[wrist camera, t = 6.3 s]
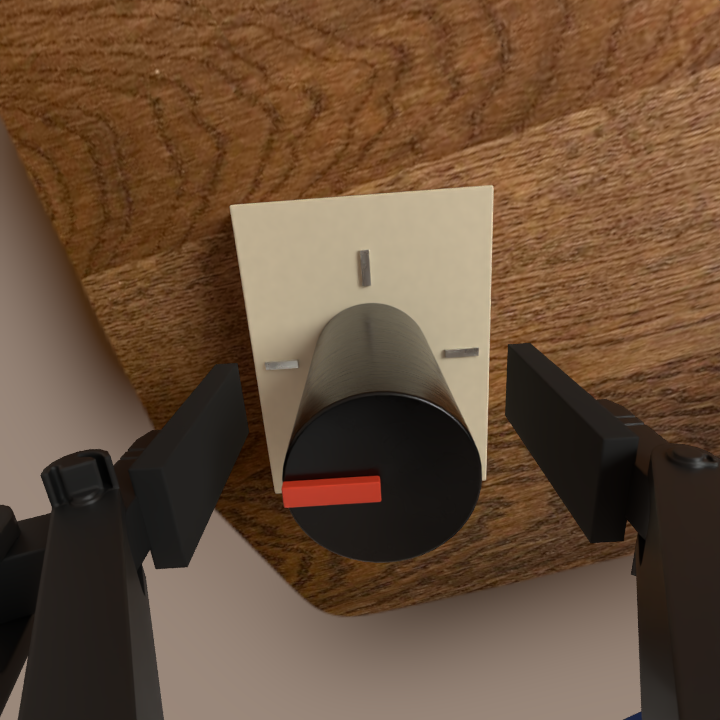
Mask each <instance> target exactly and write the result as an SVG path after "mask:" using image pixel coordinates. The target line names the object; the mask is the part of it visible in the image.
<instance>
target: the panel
mask: <svg viewBox="0 0 720 720" xmlns="http://www.w3.org/2000/svg"><path fill="white" fill-rule="evenodd" d="M230 213H231V219H232V226H233V232H234V238H235V245H236V251H237V257H238V263H239V270H240V276H241V282H242V289H243V295H244V301H245V308H246V314H247V320H248V326H249V333H250V339H251V345H252V352H253V358H254V364H255V371H256V377H257V383H258V389H259V396H260V402H261V408H262V415H263V421H264V427H265V434H266V440H267V446H268V452H269V459H270V465H271V471H272V478H273V484H274V490H275V493H282V490H281V488H282V472H283V464H284V460H285V456H286V452H287V448H288V445H289V441H290V437H291V434H292V430H293V427H294V423H295V419H296V416H297V412H298V408H299V405H300V401H301V398H302V394H303V390H304V387H305V383H306V379H307V376H308V372H309V369H310V365H311V361H312V358H313V354H314V350H315V347H316V343H317V340H318V338H319V335H320V333H321V332H322V330H323V328H324V327H325V326H326V324H327V323H328V322H329V321H330V320H331V319H332V318H333V317H334V316H336V315H337V314H338V313H340V312H341V311H343V310H345V309H347V308H349V307H352V306H355V305H359V304H365V303H380V304H386V305H389V306H392V307H395V308H397V309H399V310H401V311H403V312H405V313H406V314H407V315H409V316H410V317H411V318H412V319H413V320H414V321H415V322H416V323H417V324H418V326H419V327H420V328H421V330H422V332H423V334H424V336H425V338H426V340H427V342H428V344H429V346H430V348H431V351H432V353H433V355H434V357H435V359H436V361H437V363H438V365H439V368H440V370H441V372H442V374H443V376H444V378H445V380H446V382H447V384H448V387H449V389H450V391H451V393H452V395H453V397H454V399H455V401H456V403H457V406H458V408H459V410H460V412H461V414H462V416H463V418H464V420H465V422H466V425H467V427H468V429H469V431H470V433H471V435H472V437H473V439H474V441H475V444H476V446H477V449H478V452H479V455H480V459H481V464H482V480H486V467H487V427H488V387H489V347H490V307H491V267H492V227H493V186H492V185H489V186H474V187H461V188H448V189H434V190H421V191H408V192H395V193H382V194H368V195H355V196H342V197H329V198H316V199H302V200H289V201H276V202H263V203H250V204H238V205H231V206H230Z"/></svg>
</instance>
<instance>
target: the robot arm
mask: <svg viewBox="0 0 720 720" xmlns="http://www.w3.org/2000/svg"><path fill="white" fill-rule="evenodd" d="M505 416H506V417H507V419H508V420H509V422H510V423H511V425H512V426H513V428H514V429H515V431H516V432H517V434H518V435H519V437H520V438H521V440H522V441H523V443H524V444H525V446H526V447H527V449H528V450H529V452H530V453H531V455H532V456H533V458H534V459H535V461H536V462H537V464H538V465H539V467H540V468H541V470H542V471H543V473H544V474H545V476H546V477H547V479H548V480H549V482H550V483H551V485H552V486H553V488H554V489H555V491H556V492H557V494H558V495H559V497H560V498H561V500H562V501H563V503H564V504H565V506H566V507H567V509H568V510H569V512H570V513H571V515H572V516H573V518H574V519H575V521H576V522H577V524H578V525H579V527H580V528H581V530H582V531H583V532H584V534H585V535H586V537H587V538H588V540H589V541H590V543H600V542H617V541H624V535H625V528H626V522H627V520H628V521H629V522H630V523H631V525H632V526H633V527H634V528H635V530H636V531H637V532H638V535H637V541H636V547H635V553H634V559H633V565H632V571H631V575H634V576H636V577H637V578H636V579H637V605H638V628H639V629H638V630H639V631H638V632H639V659H640V684H641V708H642V709H641V712H642V720H720V458H718V457H716V456H715V455H713V454H712V453H710V452H708V451H705V450H703V449H700V448H697V447H693V446H689V445H684V444H673V443H668V442H667V441H666V440H665V439H663V438H662V437H661V436H660V435H658V434H657V433H656V432H655V431H653V430H652V429H651V428H650V427H648V426H647V425H644V423H643V422H642V421H641V420H640V419H638V418H637V417H635V415H633V414H632V413H631V412H630V411H628V410H627V409H626V408H625V407H623V406H621V405H619V404H616V403H614V402H612V401H609V400H607V399H601V400H596V399H594V398H593V397H592V396H591V395H590V394H589V393H587V392H586V391H585V390H584V389H583V388H582V387H581V386H579V385H578V384H577V383H576V382H575V381H574V380H572V379H571V378H570V377H569V376H568V375H567V374H565V373H564V372H563V371H562V370H561V369H560V368H558V367H557V366H556V365H555V364H554V363H553V362H552V361H550V360H549V359H548V358H547V357H546V356H545V355H543V354H542V353H541V352H540V351H539V350H538V349H536V348H535V347H534V346H533V345H532V344H531V343H523V344H508V359H507V383H506V408H505ZM248 433H249V429H248V423H247V417H246V411H245V405H244V400H243V394H242V388H241V382H240V376H239V370H238V364H237V363H230V364H216V365H215V366H214V367H213V368H212V370H211V371H210V372H209V373H208V374H207V376H206V377H205V378H204V379H203V380H202V382H201V383H200V384H199V385H198V386H197V388H196V389H195V390H194V391H193V392H192V394H191V395H190V396H189V397H188V398H187V400H186V401H185V402H184V403H183V404H182V406H181V407H180V408H179V409H178V410H177V412H176V413H175V414H174V415H173V416H172V418H171V419H170V420H169V421H168V422H167V424H166V425H165V426H164V427H163V428H162V430H152V431H150V432H148V433H147V434H145V435H144V436H142V437H140V438H139V439H137V440H136V441H135V442H134V443H133V445H132V446H131V447H130V448H129V449H128V452H125V454H124V455H123V456H122V457H121V458H120V460H119V461H117V462H116V464H115V465H114V466H113V464H112V460H111V456H110V455H109V453H108V451H104V450H101V449H90V450H84V451H79V452H76V453H73V454H70V455H67V456H64V457H62V458H60V459H58V460H56V461H54V462H52V463H51V464H50V465H49V466H47V467H46V468H45V469H44V470H43V472H42V473H41V478H42V481H43V484H44V486H45V489H46V492H47V494H48V498H49V500H50V503H51V506H52V511H51V513H49V514H46V515H41V516H37V517H34V518H29V519H25V520H21V521H17V520H16V518H15V515H14V513H13V511H12V509H11V508H10V507H9V506H5V505H0V716H1V714H2V712H3V709H4V707H5V705H6V703H7V701H8V698H9V696H10V694H11V692H12V690H13V687H14V685H15V683H16V681H17V679H18V676H19V674H20V672H21V670H22V668H23V665H24V663H25V661H26V659H27V657H28V660H27V666H26V672H25V679H24V685H23V692H22V698H21V704H20V710H19V716H18V720H164V717H163V710H162V702H161V694H160V686H159V678H158V670H157V662H156V654H155V646H154V639H153V630H152V623H151V615H150V608H149V599H148V592H147V584H146V576H145V573H144V570H143V566H142V563H143V561H144V559H145V557H146V556H147V554H148V552H149V551H151V554H152V558H153V562H154V565H155V568H156V569H165V568H181V567H188V565H189V562H190V560H191V558H192V556H193V554H194V552H195V549H196V547H197V545H198V543H199V540H200V538H201V536H202V534H203V532H204V530H205V527H206V525H207V523H208V521H209V519H210V516H211V514H212V512H213V510H214V508H215V506H216V503H217V501H218V499H219V497H220V495H221V492H222V490H223V488H224V486H225V484H226V481H227V479H228V477H229V475H230V473H231V470H232V468H233V466H234V464H235V462H236V460H237V457H238V455H239V453H240V451H241V449H242V446H243V444H244V442H245V440H246V438H247V435H248Z"/></svg>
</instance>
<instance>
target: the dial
mask: <svg viewBox="0 0 720 720" xmlns="http://www.w3.org/2000/svg"><path fill="white" fill-rule="evenodd" d="M481 484H482V464H481V459H480V455H479V452H478V449H477V446H476V444H475V441H474V439H473V437H472V435H471V433H470V431H469V429H468V427H467V425H466V422H465V420H464V418H463V416H462V414H461V412H460V410H459V408H458V406H457V403H456V401H455V399H454V397H453V395H452V393H451V391H450V389H449V387H448V384H447V382H446V380H445V378H444V376H443V374H442V372H441V370H440V368H439V365H438V363H437V361H436V359H435V357H434V355H433V353H432V351H431V348H430V346H429V344H428V342H427V340H426V338H425V336H424V334H423V332H422V330H421V328H420V327H419V326H418V324H417V323H416V322H415V321H414V320H413V319H412V318H411V317H410V316H409V315H407V314H406V313H405V312H403V311H401V310H399V309H397V308H395V307H392V306H389V305H386V304H380V303H365V304H359V305H355V306H352V307H349V308H347V309H345V310H343V311H341V312H340V313H338V314H337V315H336V316H334V317H333V318H332V319H331V320H330V321H329V322H328V323H327V324H326V326H325V327H324V328H323V330H322V332H321V333H320V335H319V338H318V340H317V343H316V347H315V350H314V354H313V358H312V361H311V365H310V369H309V372H308V376H307V379H306V383H305V387H304V390H303V394H302V398H301V401H300V405H299V408H298V412H297V416H296V419H295V423H294V427H293V430H292V434H291V437H290V441H289V445H288V448H287V452H286V456H285V460H284V464H283V472H282V488H281V490H282V497H283V503H284V507H285V508H289V510H290V512H291V514H292V516H293V517H294V519H295V521H296V522H297V523H298V525H299V526H300V527H301V529H302V530H303V531H304V532H305V533H306V534H307V535H308V536H309V537H310V538H311V539H313V540H314V541H315V542H317V543H318V544H319V545H321V546H323V547H324V548H326V549H328V550H329V551H331V552H334V553H336V554H338V555H340V556H344V557H347V558H350V559H354V560H359V561H364V562H374V563H385V562H396V561H402V560H407V559H411V558H414V557H417V556H420V555H423V554H425V553H427V552H430V551H432V550H434V549H436V548H437V547H439V546H441V545H442V544H444V543H445V542H446V541H448V540H449V539H450V538H452V537H453V536H454V535H455V534H456V533H457V532H458V531H459V530H460V529H461V528H462V527H463V525H464V524H465V523H466V522H467V520H468V519H469V517H470V515H471V514H472V512H473V510H474V508H475V506H476V503H477V501H478V498H479V494H480V490H481Z"/></svg>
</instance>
